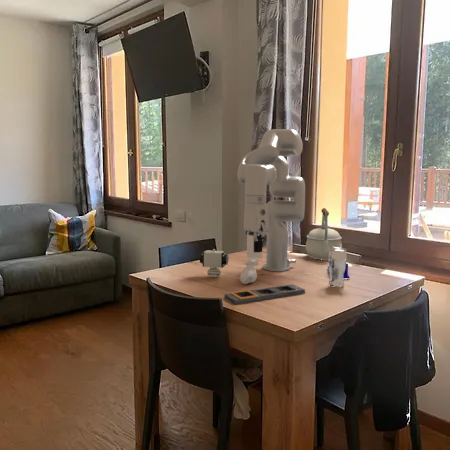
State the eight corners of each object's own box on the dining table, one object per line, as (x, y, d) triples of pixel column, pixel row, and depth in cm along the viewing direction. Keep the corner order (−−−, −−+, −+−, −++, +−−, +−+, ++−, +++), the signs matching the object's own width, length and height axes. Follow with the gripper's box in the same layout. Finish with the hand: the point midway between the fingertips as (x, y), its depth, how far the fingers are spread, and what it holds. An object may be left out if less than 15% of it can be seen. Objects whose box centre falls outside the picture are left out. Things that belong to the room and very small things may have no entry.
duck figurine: (250, 291, 180) (268, 269, 179) (235, 280, 179) (253, 258, 178) (247, 283, 192) (263, 262, 191) (233, 272, 191) (250, 251, 190)
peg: (256, 255, 165) (256, 234, 164) (262, 257, 161) (262, 235, 160) (246, 256, 163) (247, 234, 162) (252, 258, 160) (253, 236, 158)
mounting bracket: (327, 269, 208) (327, 257, 208) (343, 270, 208) (343, 257, 207) (331, 280, 191) (332, 266, 190) (349, 280, 190) (349, 266, 189)
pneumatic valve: (225, 278, 190) (226, 251, 188) (199, 277, 192) (199, 249, 191) (228, 275, 195) (229, 248, 193) (202, 273, 198) (202, 247, 196)
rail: (292, 287, 177) (292, 283, 177) (304, 293, 170) (304, 288, 170) (224, 298, 164) (224, 293, 163) (234, 304, 157) (235, 299, 156)
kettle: (304, 252, 244) (306, 206, 241) (339, 253, 242) (341, 207, 238) (306, 263, 220) (308, 212, 216) (344, 264, 217) (347, 213, 214)
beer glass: (335, 288, 176) (337, 251, 174) (323, 284, 183) (325, 248, 180) (348, 286, 180) (350, 249, 177) (337, 282, 186) (338, 246, 184)
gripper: (277, 201, 154) (276, 254, 156) (252, 197, 168) (251, 246, 171) (259, 202, 150) (258, 256, 153) (234, 198, 165) (234, 247, 168)
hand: (254, 250), depth 162 cm, fingers closed on peg, 3 cm apart
